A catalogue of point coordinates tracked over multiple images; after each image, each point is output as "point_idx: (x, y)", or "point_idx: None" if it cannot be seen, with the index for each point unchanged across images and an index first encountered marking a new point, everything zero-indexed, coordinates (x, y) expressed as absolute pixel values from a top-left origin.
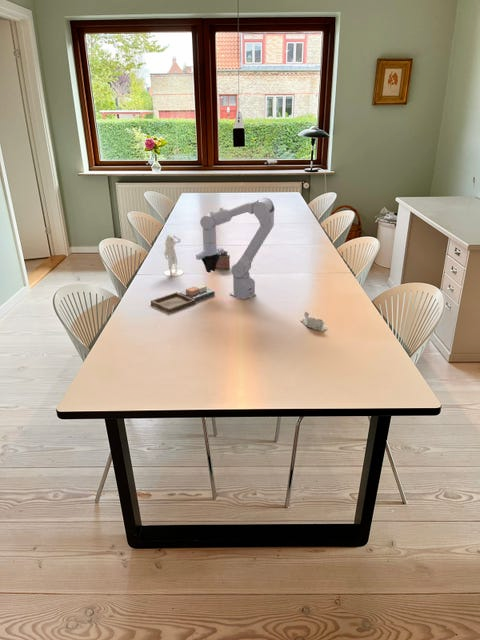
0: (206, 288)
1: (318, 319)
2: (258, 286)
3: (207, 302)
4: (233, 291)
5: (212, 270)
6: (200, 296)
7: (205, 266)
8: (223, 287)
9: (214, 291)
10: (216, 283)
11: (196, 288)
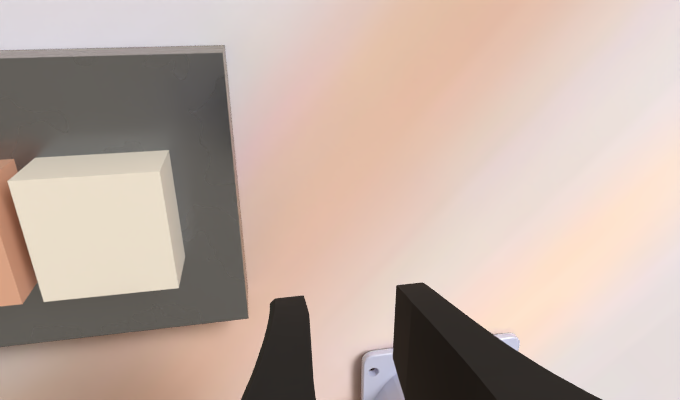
0: (179, 271)
1: None
2: (653, 345)
3: (74, 383)
4: (394, 395)
5: (396, 330)
6: (19, 342)
7: (258, 386)
8: (465, 179)
9: (246, 316)
10: (514, 21)
11: (2, 271)
